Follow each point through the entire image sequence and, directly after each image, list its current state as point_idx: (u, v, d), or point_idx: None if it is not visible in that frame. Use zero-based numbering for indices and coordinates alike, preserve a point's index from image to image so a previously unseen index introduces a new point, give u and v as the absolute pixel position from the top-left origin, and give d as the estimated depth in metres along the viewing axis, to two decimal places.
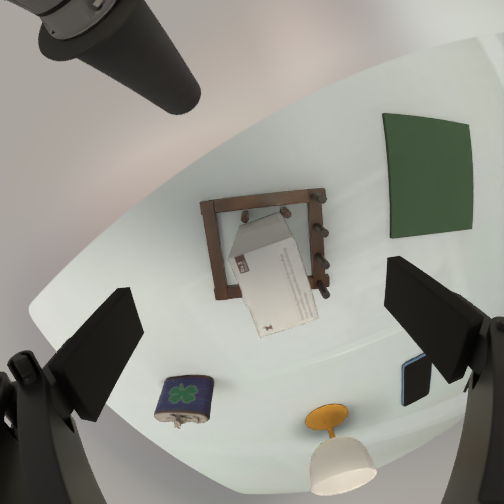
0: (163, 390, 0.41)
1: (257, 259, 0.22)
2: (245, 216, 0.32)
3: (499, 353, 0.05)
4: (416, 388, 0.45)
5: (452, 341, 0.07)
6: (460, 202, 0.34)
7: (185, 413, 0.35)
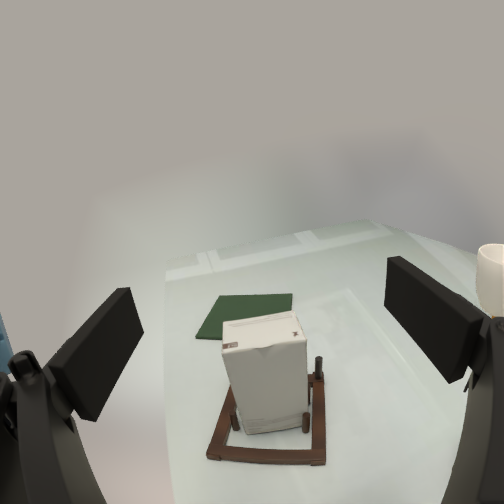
0: None
1: (230, 337, 0.26)
2: (229, 411, 0.29)
3: (499, 353, 0.05)
4: None
5: (452, 341, 0.07)
6: (270, 301, 0.62)
7: None
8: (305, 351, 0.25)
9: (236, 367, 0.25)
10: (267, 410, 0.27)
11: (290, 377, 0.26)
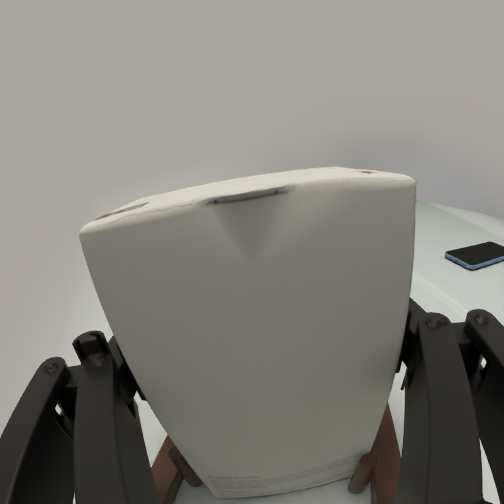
0: None
1: (137, 203, 0.07)
2: (171, 449, 0.10)
3: (431, 352, 0.06)
4: (490, 250, 0.33)
5: None
6: None
7: None
8: (412, 236, 0.06)
9: (136, 304, 0.06)
10: (265, 460, 0.08)
11: (349, 355, 0.07)
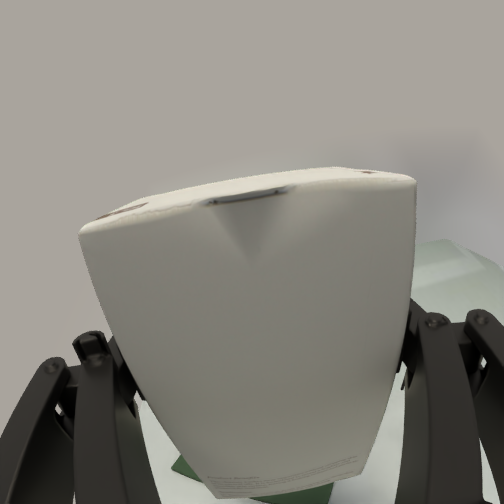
0: None
1: (137, 203, 0.07)
2: None
3: (431, 352, 0.06)
4: None
5: None
6: None
7: None
8: (413, 236, 0.06)
9: (135, 304, 0.06)
10: (265, 461, 0.08)
11: (350, 356, 0.07)
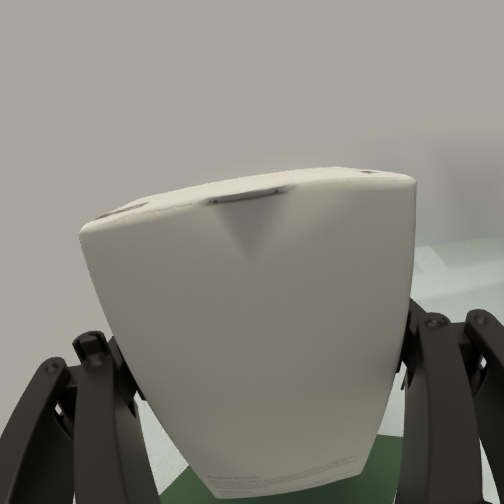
0: None
1: (137, 202, 0.07)
2: None
3: (431, 352, 0.06)
4: None
5: None
6: None
7: None
8: (412, 236, 0.06)
9: (135, 304, 0.06)
10: (265, 461, 0.08)
11: (350, 355, 0.07)
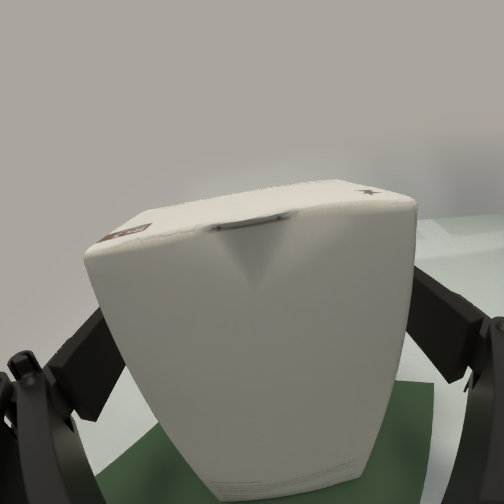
0: None
1: (139, 221, 0.08)
2: None
3: (499, 353, 0.05)
4: None
5: (452, 341, 0.07)
6: None
7: None
8: (412, 256, 0.06)
9: (141, 324, 0.06)
10: (267, 467, 0.08)
11: (349, 369, 0.07)
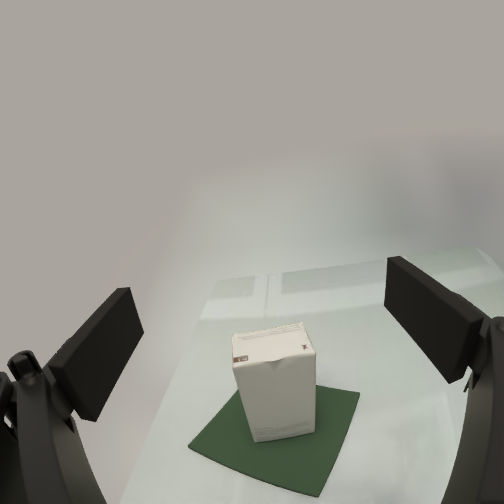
0: None
1: (240, 350, 0.26)
2: None
3: (499, 353, 0.05)
4: None
5: (452, 341, 0.07)
6: (322, 404, 0.34)
7: None
8: (314, 363, 0.25)
9: (246, 380, 0.25)
10: (275, 419, 0.27)
11: (298, 388, 0.26)
